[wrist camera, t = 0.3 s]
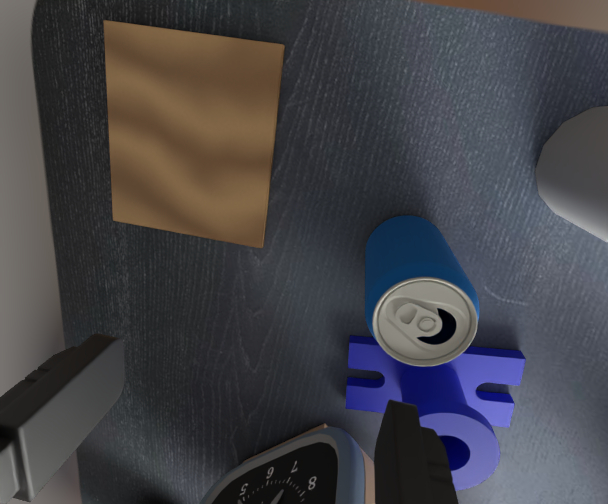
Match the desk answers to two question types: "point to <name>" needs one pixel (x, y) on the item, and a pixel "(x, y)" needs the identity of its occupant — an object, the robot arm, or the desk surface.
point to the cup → (578, 171)
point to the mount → (444, 400)
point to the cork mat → (191, 130)
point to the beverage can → (417, 293)
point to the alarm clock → (301, 473)
